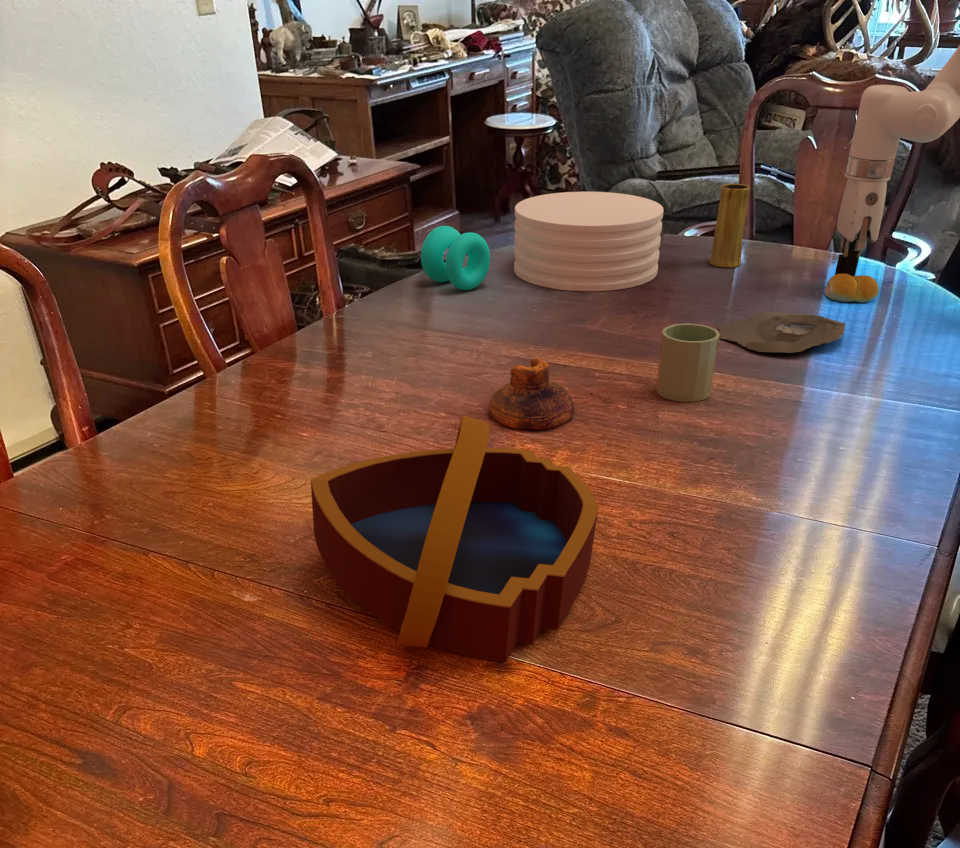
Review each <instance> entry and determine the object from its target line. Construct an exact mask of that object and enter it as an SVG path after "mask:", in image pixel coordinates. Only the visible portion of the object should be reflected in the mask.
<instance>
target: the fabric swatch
mask: <svg viewBox="0 0 960 848" xmlns="http://www.w3.org/2000/svg"><path fill="white" fill-rule="evenodd" d="M845 327H846V322H842V321H839V320H834V319H831V318H828V317H825V316H821V315H815V314H814V315H813V314H808V313H789V312H779V311H778V312H777V311H763V312H762V311H761V312H758V313H755V314H754V315H751V316H749V317H747V318H743V319H740V320H737V321H732V322H730V323H724V324H721V325H719V326H717V327H716V329H718V332H719V334H720V338H719V339H721V340H726V341H730V342H735V343H737V345H741V346H742V347H743V348H747V349H748V350H753V351H755V352H759V353H787V354H793V353H794V354H795V353H801V352H804V351H805V350H807V349H810V348H812V347H815V346H816V347H817V346H821V345H822V344H830V343H831V342H837V341H838V339H841V338H843V336H844V335H845Z"/></svg>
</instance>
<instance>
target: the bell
mask: <svg viewBox="0 0 960 848" xmlns="http://www.w3.org/2000/svg"><path fill="white" fill-rule="evenodd" d="M509 380H510V381H509V383H507V384H505V385H504V386H502V387H501V388H499V389H497V390H496V391H495V392H494V393H493V394H492V396H491V397H490V400H489V402H488V410H489V413H490V415H491V416H492V417H493V418H494V420H495V421H497V422H498V423H499V424H501V425H503V426H506V427H509V428H511V429H517V430H534V431H542V430H543V431H544V430H550V429H553V428H557V427H559V426H561V425H564V424H565V423H567V422H569V420H570V419H571V418H572V417H573V415H574V413H575V403H574V400H573V399H572V397H571V395H570V394H569V392H568V390H566V388H564V387H563V385H561V384H559V383H557V382H555V381H552V380H550V364H548V363H547V362H546V361H545V360H544V359H542V358H540V357H534V358H532V359H530V366H524V365H521V364H517V365H514V366H512V368H511V369H510V379H509Z"/></svg>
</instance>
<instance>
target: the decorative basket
mask: <svg viewBox="0 0 960 848" xmlns="http://www.w3.org/2000/svg"><path fill="white" fill-rule="evenodd" d="M489 439H490V424H489V422H487V421H483V420H480V419H478V418H474V417H470V416H468V415H464V414H462V415H461V416H460V421H459V425H458V430H457V434H456V439H455V444H454V448H441V449H440V448H439V449H428V450H418V451H410V452H409V451H408V452H403V453H395V454H388V455H383V456H379V457H378V456H377V457H374V458H370V459H365V460H361V461H357V462H354V463H350V464H347V465H343V466H341V467H337V468H335V469H332V470H330V471H326V472H325V473H322V474H320V475H318V476H315V477H313V478H311V479H310V489H311V490H310V492H311V504H312V505H311V507H312V521H313V523H312V524H313V535H314V540H315V543H316V547H317V551H318V553H319V555H320V556H321V558H322V560H323V563H324V564H325V566H326V568H327V569H328V571H329V572H330V573H331V575H332V576H333V578H334V580H335V581H336V582H337V584H338V585H339V586H340V587H341V588H342V589H343V590H344V591H345V592H346V593H347V594H348V595H349V597H351V598H352V599H353V600H354V601H355V602H356V603H357V604H359V605H360V606H361V607H363V608H364V609H365V610H367V611H368V612H369V613H371V614H372V615H374V616H375V617H376V618H378V619H380V621H383V622H384V623H386V624H387V625H389V626H390V627H392V628H394V629H395V630H397V631H399V634H398V637H397V642H396V643H397V646H402V647H415V648H426V649H427V648H428V647H429V645H431V646H434V647H437V648H440V649H443V650H447V651H450V652H453V653H458V654H461V655H465V656H470V657H474V658H478V659H479V658H480V659H484V660H489V661H495V662H496V661H497V662H503V663H506V662H507V660H508V659H509V657H510V656H511V654H512V652H513V651H514V649H515V648H516V646H517V645H518V644H522V645H523V644H524V645H533V644H534V642H535V640H536V639H537V637H538V635H539V633H540V632H541V631H542V630H548V631H558V630H559V628H560V626H561V624H562V623H563V622H564V620H565V618H566V616H567V615H568V614H569V612H570V610H571V608H572V606H573V605H574V604H575V603H574V602H575V601H576V599H577V597H578V596H579V593H580V591H581V589H582V587H583V585H584V583H585V581H586V578H587V577H588V576H587V575H588V572H589V569H590V566H591V560H592V554H593V547H594V541H595V532H596V526H597V519H598V513H599V512H598V511H599V503H598V501H597V499H596V497H595V496H594V494H593V492H592V490H590V488H589V487H588V486H587V484H586V483H585V482H584V481H583V480H582V479H581V477H580V476H578V475H577V473H575V471H574V470H573V469H572V468H571V467H570V466H561V465H556V464H554V462H553V461H552V460H551V459H550V458H546V457H545V458H543V457H538V456H536V455H535V454H534V453H533V451H532V450H530V449H521V448H519V449H518V448H499V447H488V443H489Z"/></svg>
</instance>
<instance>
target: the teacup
mask: <svg viewBox="0 0 960 848" xmlns="http://www.w3.org/2000/svg"><path fill="white" fill-rule="evenodd" d="M719 332H720V331H719V330H717V329H716V328H714V327H712V326H709V325H705V324H698V323H675V324H671V325H669V326H666V327H664V328H663V329H662V330H661V335H660V346H659V353H658V354H659V355H658V364H657V372H656V373H657V374H656V383H655V386H656V389H655V391H656V393H657V395H658V396H660V397H662V398H664V399H666V400H670V401H673V402H680V403H692V402H693V403H695V402H701V401H703V400H707V399H708V398H710V397H711V395H712V392H713V386H714V379H715V374H716V373H715V372H716V366H717V358H718V352H719V345H720V339H721V338H720V334H719Z"/></svg>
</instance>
